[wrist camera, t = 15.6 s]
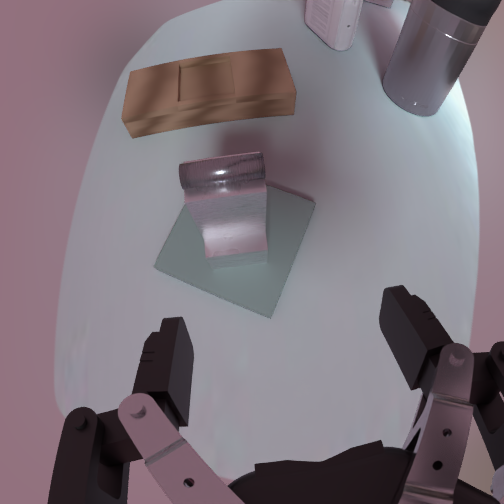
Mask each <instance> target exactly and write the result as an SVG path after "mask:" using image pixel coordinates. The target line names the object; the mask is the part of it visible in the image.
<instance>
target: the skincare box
mask: <svg viewBox="0 0 504 504" xmlns="http://www.w3.org/2000/svg"><path fill="white" fill-rule="evenodd" d="M364 1H367V2H371V3H375V4H379V5H382V6H385V7H387V8H391V5H392V2H393V0H364Z"/></svg>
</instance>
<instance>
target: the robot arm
mask: <svg viewBox="0 0 504 504" xmlns="http://www.w3.org/2000/svg"><path fill="white" fill-rule="evenodd" d="M500 2H501V0H412V1H411V4H410V7H409V10H408V13H407V16H406V19H405V22H404V25H403V28H402V30H401V33H400V36H399V39H398V41H397V44H396V47H395V50H394V52H393V55H392V58H391V60H390V63H389V65H388V68H387V71H386V73H385V76H384V78H383V87H384V90H385V92H386V93H387V95H388V96H389V97H390V98H391V100H392V101H394V102H395V103H396V104H397V105H398V106H400V107H401V108H403V109H404V110H406V111H408V112H410V113H413V114H415V115H419V116H432V115H434V114H435V113H436V112H437V111H438V110H439V108H440V106H441V105H442V103H443V102H444V100H445V98H446V97H447V95H448V94H449V92H450V90H451V89H452V87H453V85H454V84H455V82H456V80H457V79H458V77H459V75H460V73H461V72H462V70H463V68H464V66H465V65H466V63H467V61H468V59H469V58H470V56H471V54H472V52H473V50H474V48H475V47H476V45H477V43H478V41H479V39H480V37H481V35H482V34H483V32H484V30H485V28H486V26H487V24H488V22H489V20H490V19H491V17H492V15H493V14H494V12H495V11H496V9H497V8H498V6H499V4H500ZM379 324H380V328H381V331H382V333H383V335H384V337H385V339H386V341H387V343H388V345H389V347H390V349H391V351H392V353H393V355H394V357H395V359H396V361H397V363H398V365H399V367H400V369H401V371H402V373H403V375H404V377H405V379H406V381H407V383H408V385H409V387H410V390H414V389H417V388H421V390H422V392H423V393H422V395H421V397H420V401H419V404H418V407H417V410H416V414H415V417H414V420H413V423H412V426H411V429H410V432H409V434H408V436H407V439H406V441H405V443H404V445H403V447H402V449H401V448H395V447H383V444H382V441H381V440H379V441H375V442H372V443H368V444H364V445H361V446H357V447H353V448H350V449H348V450H346V451H344V452H342V453H340V454H338V455H336V456H334V457H331V458H329V459H327V460H325V461H321V462H309V461H292V460H284V461H276V462H268V463H259V464H255V471H253V472H250V473H248V474H246V475H243V476H241V477H240V478H238V479H236V480H235V481H233V482H232V483H230V484H229V485H228V486H227V485H226V484H224V482H223V481H222V480H221V479H220V478H219V477H218V476H217V475H216V474H215V473H214V472H213V470H212V469H211V468H210V467H209V466H208V465H207V464H206V463H205V462H204V461H203V459H202V458H201V457H200V456H199V455H198V454H197V452H196V451H195V450H194V449H193V448H192V447H191V445H190V444H189V443H188V442H187V441H186V440H185V439H184V438H183V437H182V436H181V435H180V433H179V427H184V426H188V419H189V406H190V394H191V383H192V372H193V361H194V351H193V346H192V342H191V339H190V336H189V334H188V331H187V328H186V325H185V322H184V319H183V317H173V318H164V319H163V320H162V323H161V327H160V332H152V333H151V334H150V336H149V337H148V338H147V340H146V341H145V343H144V347H143V351H142V355H141V359H140V363H139V366H138V370H137V375H136V379H135V383H134V387H133V391H132V395H130V396H128V397H126V398H125V399H124V400H123V401H122V402H121V404H120V405H119V408H118V409H115V410H112V411H108V412H104V413H100V414H96V413H95V412H94V411H93V410H92V409H90V408H87V407H80V408H77V409H74V410H73V411H71V412H70V413H69V414H68V416H67V417H66V419H65V423H64V426H63V430H62V434H61V439H60V442H59V447H58V451H57V455H56V461H55V465H54V470H53V475H52V480H51V486H50V492H49V498H48V504H127V494H128V480H129V467H130V462H131V461H136V460H139V459H144V460H145V465H146V467H147V469H148V470H149V472H150V473H151V474H152V476H153V477H154V479H155V480H156V482H157V483H158V485H159V486H160V487H161V489H162V490H163V491H164V493H165V494H166V495H167V497H168V498H169V499H170V501H171V502H172V503H173V504H504V402H503V400H502V398H501V396H500V394H499V392H500V391H501V393H502V395H503V397H504V342H497V343H495V344H494V345H493V346H492V348H491V350H490V352H482V353H472V352H471V350H470V349H469V348H468V347H466V346H465V345H463V344H459V343H454V342H453V341H452V339H451V338H450V336H449V335H448V333H447V332H446V331H445V329H444V328H443V326H442V325H441V323H440V322H439V321H438V319H436V316H435V315H434V313H433V312H431V309H430V308H429V307H428V305H427V304H426V302H425V301H423V300H422V299H420V298H419V297H418V296H416V295H412V296H411V295H410V294H409V292H408V291H407V289H406V288H405V287H404V286H403V285H399V286H394V287H388V288H385V289H384V292H383V298H382V304H381V310H380V315H379ZM472 414H473V417H474V419H475V421H476V423H477V426H478V428H479V431H480V433H481V435H482V438H483V440H484V443H485V445H486V448H487V450H488V453H489V456H490V458H491V461H492V464H493V466H494V469H495V474H494V476H493V480H492V485H491V488H490V490H491V493H492V494H493V496H491V495H489V494H487V493H485V492H483V491H481V490H479V489H477V488H475V487H473V486H471V485H469V484H467V483H466V482H464V481H462V480H460V479H458V476H459V472H460V468H461V465H462V461H463V457H464V453H465V449H466V444H467V440H468V435H469V430H470V425H471V419H472Z"/></svg>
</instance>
